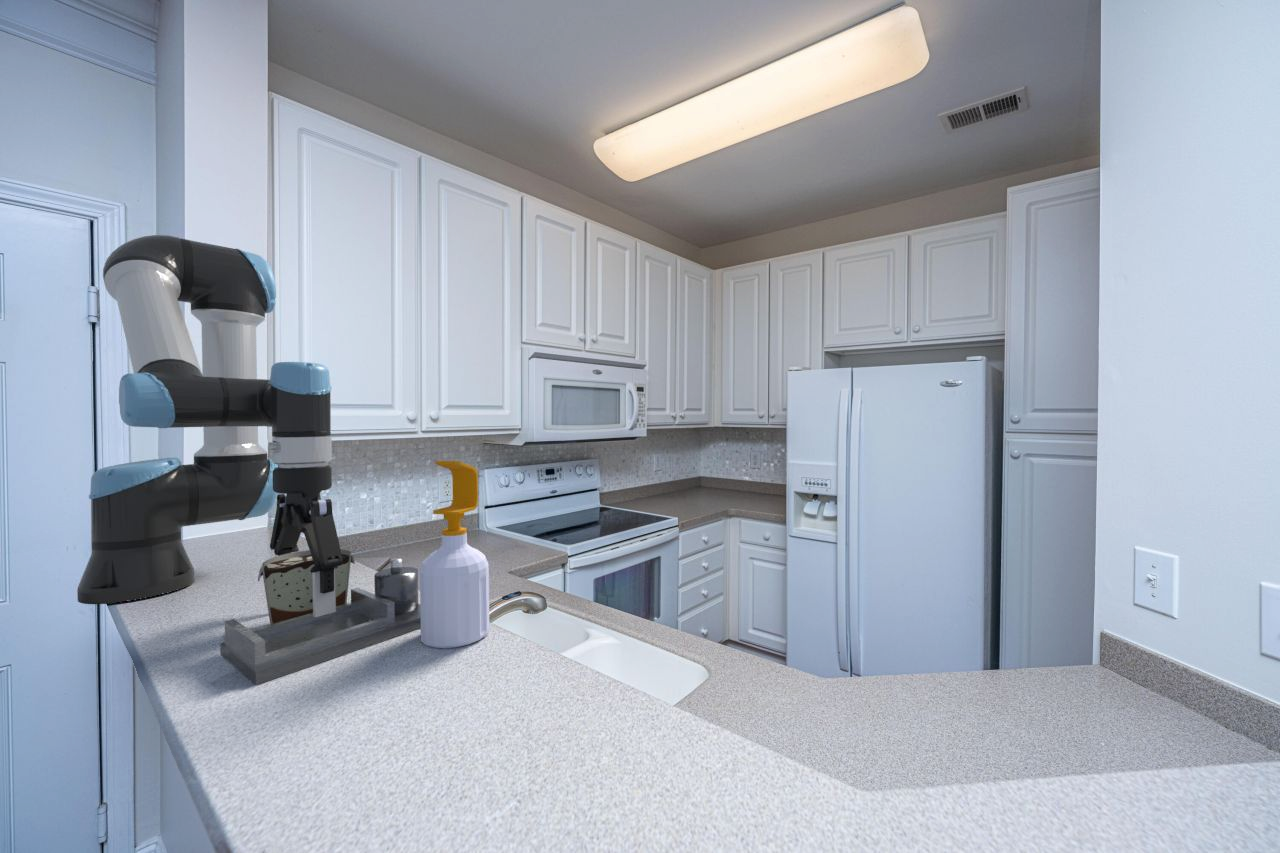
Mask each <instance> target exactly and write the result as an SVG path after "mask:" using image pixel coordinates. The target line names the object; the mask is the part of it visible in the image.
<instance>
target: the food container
mask: <svg viewBox="0 0 1280 853" xmlns="http://www.w3.org/2000/svg"><path fill="white" fill-rule="evenodd" d="M340 549H341V554H342V558H343V564H342V565H340V566H337V567H336V568H335V596H336V606H340V605H343V604H347V603H348V594H349V593H348V592H349V581H350V571H351V564H353V565H354V564H356V561H355V557H354V554H352V550H350V549H345V548H340ZM313 566H315V565H314V562H313V559H312V556H311V553H310V550H309V549H308V550H299V551H298V552H292V553H288V554H284V555H280V556H278V555H276V556H274V557H271V558H268V559H266V560H264V561H263V562H262V564H261V567H260V569H259V571H258V577H257V581H258V582H260V580H261V578H263V584H264V585H263V586H264V592H265V598H266V605H267V612H268V618H269V619H268V620H269V625H270V624H274V623H278V622H281V621H285V620H289V619H292V618H296V617H300V616H303V615H307V614H311V613H313V578H312V573H311V572H310V570H311V569H312V567H313Z"/></svg>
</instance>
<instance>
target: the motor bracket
mask: <svg viewBox="0 0 1280 853" xmlns="http://www.w3.org/2000/svg"><path fill="white" fill-rule="evenodd" d="M389 560H390V568H386V569H382V570H379V571H378V572H375V574H374V579H373V580H374V593H372V592H370V591H368V590H364V589H363V588H359V587H355V588H351V589H350V602H347V604H343V605H340V606H336V612H333V613H330V614H326V615H322V616H319V617H314V616H313V613H311V614H307V615H303V616H300V617H296V618H292V619H289V620H285V621H281V622H278V623H274V624H270V623H269V624H267V625H263V626H260V627H256V628H253V629H249V628H248V627H247V626H245V625H244V624H242V623H241V622H239V621H237V620H236V619H234V618H233V619H229V620H225V621H224V642H221V643H219V650H220V651H219V652H220V653H219V654H220V656H221V657H222V658H223V659H224V660H226V661H227V662H228V663H230V664H231V665H232V666H233V667H234V668H235V669H236V670H237V671H239V672H240V673H241V674H242V675H243V676H244V677H246V678H247V679H248V680H249V681H250V682H252V683H253V684H254V685H255V686H258V685H261V684H263V683H266V682H269V681H273V680H274V679H277V678H278V679H279V678H281V677H283V676H286V675H289V674H291V673H294V672H297V671H300V670H305V669H306V668H310V667H312V666H316V665H318V664H322V663H325V661H329V660H333V659H335V658H338V657H341V656H344V655H346V654H350V653H352V652H355V651H359V650H361V649H365V648H367V647H369V646H373V645H376V644H379V643H381V642H384V641H386V640H391V639H393V638H396V637H399V636H401V635H404V634H407V633H411V632H413V631H417V630H419V629H421V611H420V603H419V570H418V568H417V567H414V566H413V567H412V566H403V558H401V557H394V558H391V559H389Z"/></svg>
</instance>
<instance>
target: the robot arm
mask: <svg viewBox="0 0 1280 853" xmlns="http://www.w3.org/2000/svg"><path fill="white" fill-rule="evenodd" d="M102 278H103V282H104V287H105V289H106V291H107V293H108V295H110V296H111V297H112V299H114V300H115V301H116V302H117V307H118V311H119V315H120V320H121V324H122V329H123V332H124V337H125V341H126V346H127V350H128V354H129V358H130V362H131V366H132V371H133V373H126V374H124V375H122V376H121V377H120V380H119V386H118V405H119V414H120V419H121V421H122V422H123V423H124V424H125V425H127V426H128V427H129V426H130V427H132V428H133V427H135V428H136V427H137V428H138V427H139V428H157V429H168V428H169V429H170V428H203V445H202V447H201V448H199V449H198V450H197V451H195V453H194V454H193V464H192V463H191V464H182V460H181V461H180V458H178V457H166V458H158V459H157V458H155V459H147V460H145V459H144V460H139V461H134V462H126V463H120V464H114V465H110V466H106V467H103V468H100V469H97V470H96V471H95V472H94V473H93V474H92V475H91V478H90V491H89V492H90V493H89V495H88V499H89V500H90V508H91V509H90V522H91V523H90V524H91V526H90V527H91V528H90V529H91V530H90V533H91V538H90V539H91V554H90V557H89V559H88V562H87V564H86V566H85V569H84V571H83V573H82V576H81V578H80V581H79V583H78V586H77V590H76V592H77V602H78V603H81V604H83V605H84V604H85V605H107V604H108V605H109V604H117V603H116V602H120V603H122V602H121V601H127V600H134V601H136V600H135V599H140V598H145V597H150V598H152V597H151V596H155V597H157V596H156V595H159V594H162V593H167V592H170V591H174V590H177V589H180V590H182V589H181V588H183V589H185V588H187V587H189V586H191V585H193V584H194V583H195V581H194V580H196V579H195V568H194V565H193V564H192V562H191V560H190V557H189V555H188V553H187V551H186V549H185V547H184V545H183V542H182V541H183V540H182V528H183V527H190V526H199V525H205V524H214V523H221V522H227V521H228V522H229V521H236V520H237V521H245V520H246V519H250V518H257V517H262V516H265V515H266V514H267V513H269V512H270V511H271V510H272V508H273V506H274V505H275V503H276V510H275V514H274V515H275V517H274V521H273V527H272V532H271V538H270V544H269V548H270V550H271V551H272V550H274V552H273V553H274V555H275V556H280V555H284V554H288V553H293V552H299V551H300V550H299V546H298V542H299V539H300V536H301V534H302V533H303V534H304V537H305V540H306V544H307V546H308V550H310V553H311V556H312V559H313V562H314V565H315V566H313V567H312V569H311V570H310V572H311V573H312V578H313V616H314V617H319V616H322V615H326V614H330V613H333V612H336V596H335V568H336V567H337V566H340V565H342V564H343V558H342V554H341V549H342V548H341V545H340V541H339V537H338V533H337V528H336V523H335V519H334V515H333V514H334V513H333V501H332V499H330V498H327V499H322V498H321V492H322V491H328V490H329V489H331V488H332V485H333V484H332V482H333V480H332V478H333V477H332V476H333V474H332V472H333V471H332V467H331V466H330V464H328V463H329V462H331V461H332V459H333V454H332V453H333V450H332V446H333V445H332V443H333V442H332V435H331V434H332V433H331V427H332V426H331V421H332V420H331V414H332V413H331V409H332V408H331V392H332V386H331V382H330V381H331V380H330V379H331V378H330V371H329V368H328V367H327V366H326V365H324V364H321V363H316V362H306V361H305V362H304V361H281V362H280V361H279V362H275V363H273V364H272V366H271V368H270V377H269V379H265V378H264V379H263V378H261V379H260V378H258V372H257V370H258V368H257V367H258V366H257V364H258V363H257V362H258V360H257V327H258V326H259V325H261V324H262V323H263V322H264V321H266V314H268V313H269V314H270V313H272V312H273V311H274V309H275V306H276V303H277V302H276V299H277V286H276V285H277V284H276V279H275V276H274V272H273V269H272V268H271V265H270V264H269V263H268V261H267V260H266V259H265V258H264V257H263V256H261V255H259V254H256V253H253V252H249V251H244V250H242V249H240V248H232V247H227V246H221V245H217V244H216V245H215V244H211V243H208V242H207V243H206V242H201V241H197V240H192V239H191V240H190V239H186V238H180V237H179V236H174V235H173V236H172V235H168V234H167V235H164V234H163V235H162V234H154V235H146V236H141V237H137V238H134V239H131V240H129V241H127V242H125V243H122V244H121V245H119V246H118V247H117V248H116V249H115V250H114V251H112V252H111V253H110V254H109V256H108V257H107V258H106V260H105V263H104V265H103V268H102ZM180 302H184V303H189V304H190V314H191V315H192V316H193V317H195V318H196V319H197V320H198V321H199V322H200V324H201V360H202V361H201V362H202V363H201V367H200V364H199V361H198V357H197V355H196V351H195V349H194V346H193V342H192V339H191V336H190V334H189V330H188V327H187V324H186V321H185V318H184V315H183V312H182V308H181V306H180ZM259 427H267V428H270V427H271V437H272V438H271V440H272V441H271V442H272V443H270V444H269V445H268V450H269V451H271V452H272V459H271V458H268V451H267V450H266V449H265V448H263V447H262V446H261V445H260V444H259ZM193 582H194V583H193ZM192 583H193V584H192ZM190 584H191V585H190ZM188 585H189V586H188ZM186 586H187V587H186ZM184 587H185V588H184ZM177 591H178V590H177ZM174 592H175V591H174ZM167 594H168V593H167ZM159 596H160V595H159ZM145 599H146V598H145ZM140 600H141V599H140Z"/></svg>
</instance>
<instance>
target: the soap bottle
mask: <svg viewBox="0 0 1280 853" xmlns="http://www.w3.org/2000/svg"><path fill="white" fill-rule="evenodd" d="M434 463H435V464H434V465H436V466H440V467H442V468H445V469H447V470H449V471H450V473H451V477H452V501H451V504H450V505H449V506H445V507H442V508H438V509H434V510H433V511H432V513H433V514H434V515H443V520H446V521H447V528H443V529H441V545H440V547H439V548H437V549H436V550H435V551H433V552H432V553H430V554H429V555H428V556H427V557H426V558H425V559H424V560H423V561H422V562H421V566H420V569H419V588H420V589H419V595H420V596H419V598H420V600H419V602H420V603H419V604H420V611H421V628H420V640H421V642H422V643H423V644H424V645H425V646H428V647H432V648H436V649H453V648H459V647H465V646H468V645H470V644H471V645H472V644H473V643H476V642H478V641H480V640H482V639H483V638H485V637H486V636H487V635H488V633H489V631H490V628H491V627H490V574H489V572H490V570H489V568H490V566H489V565H490V564H489V562H488V560H487V557H486V555H485V554H484V553H483V552H481V551H480V550H479V549H477V548H474V547H472V546H470V544H468V535H467V534H468V531H467V527H465V526H464V527H462V526H461V520H462V519H465V513H468V512H471V511H475V510H476V509H477V507H478V505H479V472H478V469H477V468H476V467H475V466H473V465H470V464H468V463H465V462H463V461H459V460H457V461H456V460H435V462H434Z"/></svg>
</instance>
